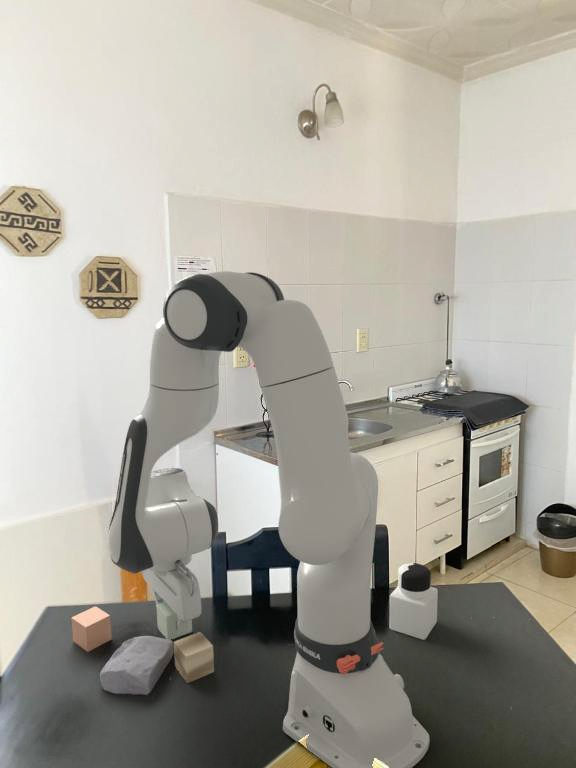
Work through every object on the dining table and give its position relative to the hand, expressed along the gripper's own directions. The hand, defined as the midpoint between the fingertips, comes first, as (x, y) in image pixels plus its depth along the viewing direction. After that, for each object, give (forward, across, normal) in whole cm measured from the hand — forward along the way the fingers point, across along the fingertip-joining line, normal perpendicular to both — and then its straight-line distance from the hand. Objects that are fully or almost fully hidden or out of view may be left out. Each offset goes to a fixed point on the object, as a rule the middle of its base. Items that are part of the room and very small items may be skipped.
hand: (171, 618), depth 111 cm
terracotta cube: (+3, +6, +13) cm, 15 cm away
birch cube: (+2, -13, +2) cm, 13 cm away
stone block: (+3, -7, +10) cm, 13 cm away
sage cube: (+2, 0, 0) cm, 3 cm away
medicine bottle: (+2, -27, -38) cm, 47 cm away
